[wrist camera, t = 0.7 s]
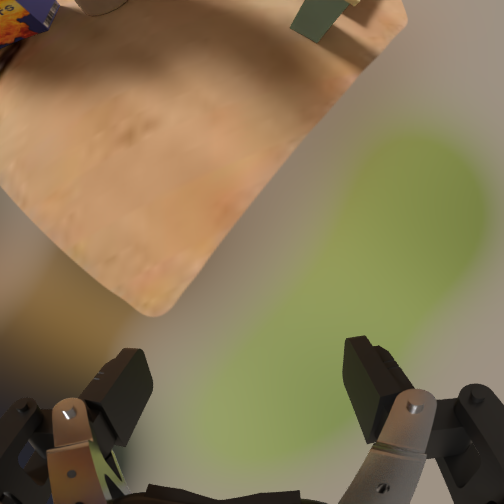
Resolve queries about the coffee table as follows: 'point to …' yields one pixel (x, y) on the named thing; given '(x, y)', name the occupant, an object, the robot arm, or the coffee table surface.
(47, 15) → the cereal box
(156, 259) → the coffee table surface
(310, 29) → the tea tin
